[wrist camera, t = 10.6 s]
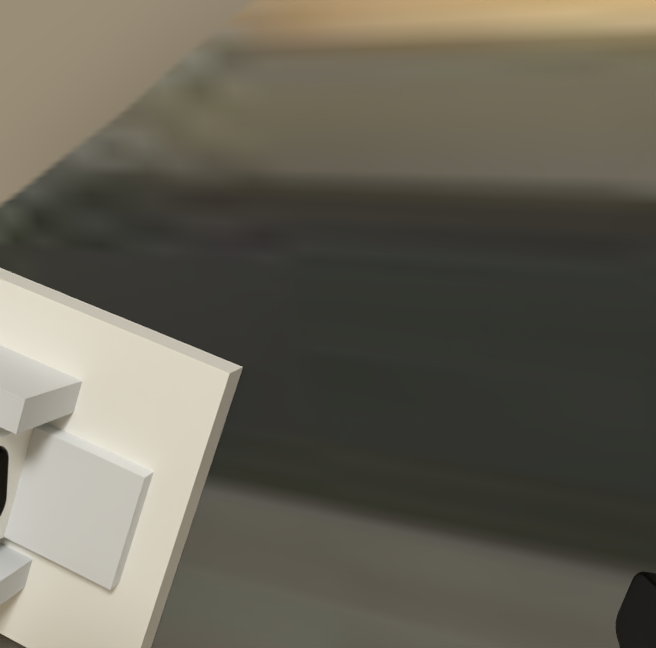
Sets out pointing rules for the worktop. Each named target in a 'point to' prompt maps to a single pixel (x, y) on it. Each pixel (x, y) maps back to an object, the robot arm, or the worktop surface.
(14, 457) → the block
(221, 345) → the worktop surface
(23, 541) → the rail mount
